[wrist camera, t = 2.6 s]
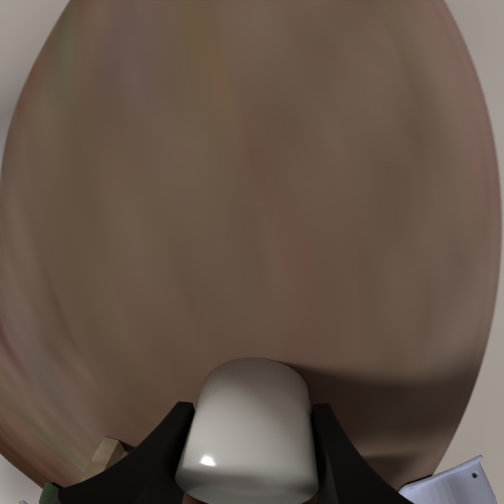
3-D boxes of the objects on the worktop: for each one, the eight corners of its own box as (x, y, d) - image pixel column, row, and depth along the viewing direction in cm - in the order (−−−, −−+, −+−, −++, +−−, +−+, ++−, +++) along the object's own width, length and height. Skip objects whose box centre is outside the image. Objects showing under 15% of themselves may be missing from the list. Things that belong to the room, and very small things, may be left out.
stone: (312, 356, 11) (328, 458, 6) (304, 426, 12) (310, 509, 7) (194, 356, 11) (157, 451, 6) (210, 425, 12) (191, 505, 7)
